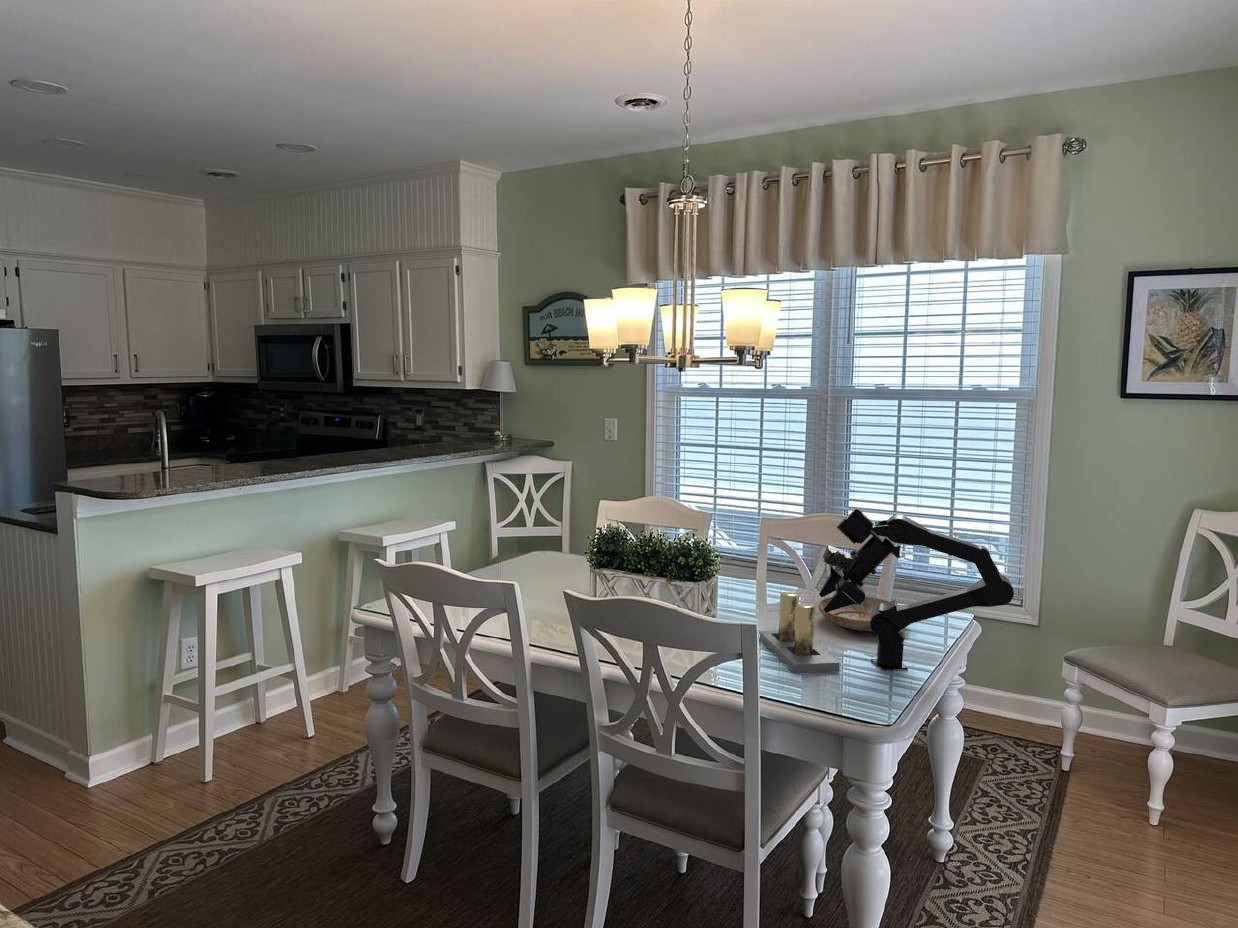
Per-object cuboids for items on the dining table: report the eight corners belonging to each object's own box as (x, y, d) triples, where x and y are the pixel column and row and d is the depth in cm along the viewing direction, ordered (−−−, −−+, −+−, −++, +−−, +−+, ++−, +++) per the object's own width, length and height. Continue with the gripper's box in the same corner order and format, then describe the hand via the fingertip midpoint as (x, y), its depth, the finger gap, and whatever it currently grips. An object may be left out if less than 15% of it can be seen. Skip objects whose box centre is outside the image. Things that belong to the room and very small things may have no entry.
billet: (798, 647, 213) (801, 596, 211) (781, 648, 212) (784, 597, 210) (792, 641, 217) (794, 591, 215) (775, 642, 216) (777, 592, 215)
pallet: (839, 670, 197) (839, 662, 197) (794, 672, 195) (794, 664, 195) (799, 637, 221) (799, 629, 221) (758, 638, 219) (759, 630, 219)
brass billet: (815, 661, 203) (818, 608, 201) (797, 662, 202) (800, 609, 200) (808, 655, 207) (811, 603, 206) (790, 656, 206) (793, 603, 205)
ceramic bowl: (799, 617, 238) (800, 599, 238) (863, 608, 249) (864, 591, 248) (857, 643, 218) (859, 624, 217) (924, 631, 229) (926, 613, 228)
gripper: (837, 523, 209) (793, 568, 213) (849, 548, 191) (800, 596, 195) (871, 552, 210) (827, 596, 214) (885, 580, 192) (837, 627, 196)
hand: (822, 603), depth 204 cm, fingers open, 9 cm apart
